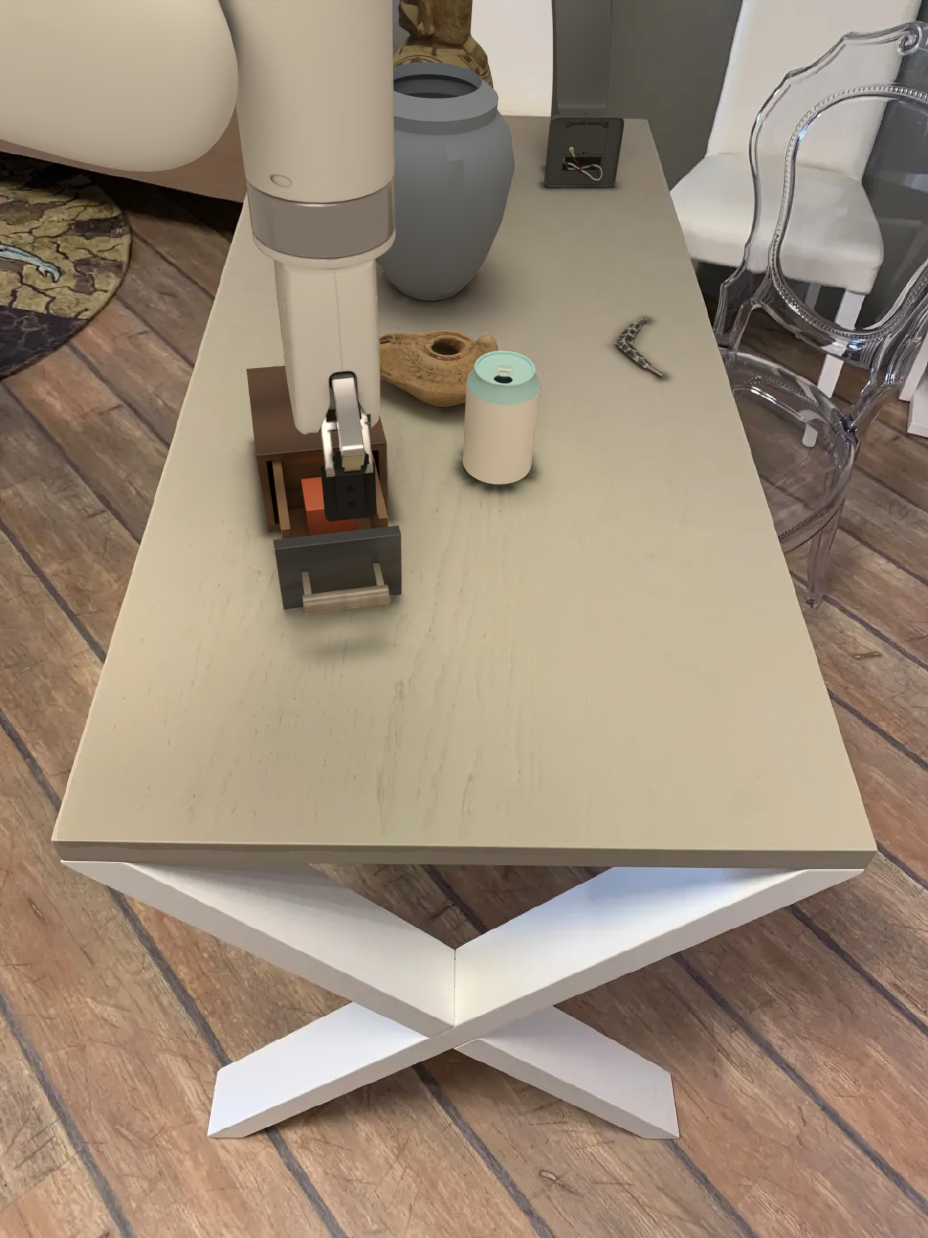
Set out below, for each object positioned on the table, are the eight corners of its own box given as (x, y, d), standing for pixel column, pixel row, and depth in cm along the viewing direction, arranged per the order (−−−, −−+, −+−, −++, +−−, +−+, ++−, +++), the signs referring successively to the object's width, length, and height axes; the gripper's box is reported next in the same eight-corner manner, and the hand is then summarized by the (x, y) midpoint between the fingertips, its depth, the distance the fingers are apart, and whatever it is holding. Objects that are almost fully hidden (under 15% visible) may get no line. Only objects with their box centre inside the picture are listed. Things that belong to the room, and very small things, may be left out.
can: (543, 476, 97) (557, 376, 88) (485, 497, 94) (492, 396, 85) (507, 438, 101) (516, 339, 92) (450, 458, 98) (453, 357, 89)
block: (310, 547, 85) (305, 510, 82) (305, 515, 88) (300, 478, 85) (358, 541, 86) (356, 505, 83) (351, 510, 89) (349, 473, 86)
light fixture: (592, 141, 154) (616, -34, 136) (615, 188, 143) (644, 3, 125) (527, 141, 153) (542, -35, 135) (544, 188, 142) (564, 2, 124)
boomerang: (608, 311, 117) (647, 314, 117) (607, 317, 118) (646, 320, 118) (622, 370, 109) (664, 373, 109) (620, 375, 109) (663, 378, 109)
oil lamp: (367, 363, 109) (365, 300, 103) (497, 366, 110) (501, 303, 104) (363, 421, 102) (360, 356, 96) (502, 423, 102) (507, 359, 96)
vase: (410, 235, 130) (409, 37, 112) (532, 278, 124) (552, 75, 105) (322, 294, 119) (305, 84, 101) (451, 344, 112) (459, 129, 94)
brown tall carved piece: (328, 178, 141) (312, -63, 119) (425, 140, 152) (427, -88, 130) (420, 221, 133) (422, -29, 111) (515, 177, 144) (534, -58, 122)
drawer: (410, 631, 81) (410, 570, 75) (288, 647, 79) (278, 587, 73) (380, 502, 92) (378, 442, 86) (272, 514, 90) (262, 453, 84)
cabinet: (388, 517, 91) (386, 442, 85) (267, 531, 89) (255, 455, 83) (368, 433, 100) (365, 358, 93) (257, 444, 98) (246, 368, 92)
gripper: (239, 142, 54) (272, 398, 67) (262, 298, 43) (297, 570, 56) (369, 136, 55) (377, 388, 68) (425, 287, 44) (422, 554, 57)
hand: (341, 469), depth 62 cm, fingers open, 8 cm apart
